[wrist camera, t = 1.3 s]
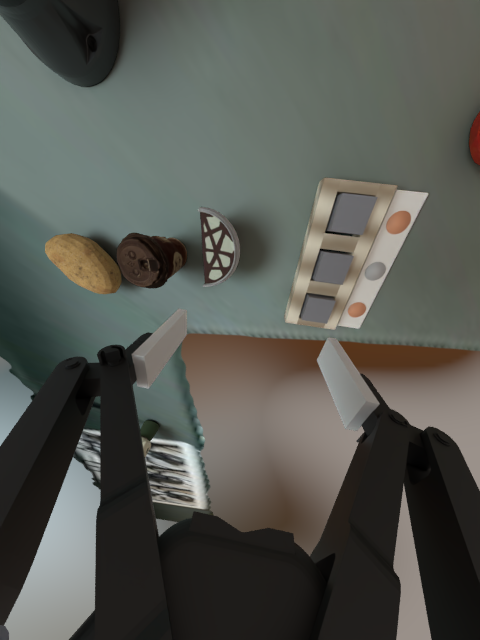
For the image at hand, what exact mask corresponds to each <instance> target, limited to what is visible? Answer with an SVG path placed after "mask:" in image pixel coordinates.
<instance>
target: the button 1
mask: <svg viewBox="0 0 480 640" xmlns="http://www.w3.org/2000/svg"><path fill="white" fill-rule="evenodd" d="M335 302H336V301H335V300H334V299H333V298H332V297H331V296H327V295H320V294H313V293H306V295H305V299H304V302H303V305H302V309H301V312H300V316H301V318H302V320H305V321H312V322H318V323H325V324H327V322H328V320H329V317H330V315H331V312H332V310H333V307H334V305H335Z"/></svg>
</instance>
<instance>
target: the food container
mask: <svg viewBox="0 0 480 640" xmlns="http://www.w3.org/2000/svg"><path fill="white" fill-rule="evenodd" d="M197 211H199V212H200V219H201V230H202V253H203V263H204V276H205V284H204V285H203V286H204V287H209V286H214V285H217V284H220V283H222V282H224V281H226V280H227V279H228V278H229V277H230V276H231V275H232V274H233V273H234V271H235V270H236V268H237V265H238V263H239V259H240V243H239V238H238V236H237V233H236V231H235V229H234V227H233V226H232V224H231V223H230V222H229V220H228V219H227V218H226V217H225V216H223V215H222V214H220V213H219V212H217V211H215V210H213V209H210V208H206V207H200V208H199V210H197Z"/></svg>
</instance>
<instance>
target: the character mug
mask: <svg viewBox="0 0 480 640" xmlns="http://www.w3.org/2000/svg"><path fill="white" fill-rule="evenodd" d="M158 429H159V425H158V424H157V423H155V422H152V421H145V422H144V424H143V425H142V428H141V430H140V432H141V438H142V444H143V449H144V455H145V457H146V455H147V453H148V451H149V449H150V447H151V443H150V441H151V440H152V438H153V437H154V435H155V434H156V432H157V431H158Z"/></svg>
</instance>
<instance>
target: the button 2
mask: <svg viewBox="0 0 480 640" xmlns="http://www.w3.org/2000/svg"><path fill="white" fill-rule="evenodd" d="M377 198H378V197H373V196H365V195H356V194H347V193H342V194H339V195H337V196H336V198H335V201H334V204H333V207H332V211H331V214H330V217H329V220H328V224H327V227H326V230H325V231H331V232H339V233H347V234H356V235H363V233H364V230H365V228H366V225H367V223H368V220H369V218H370V215H371V213H372V210H373V208H374V205H375V203H376V200H377Z"/></svg>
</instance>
